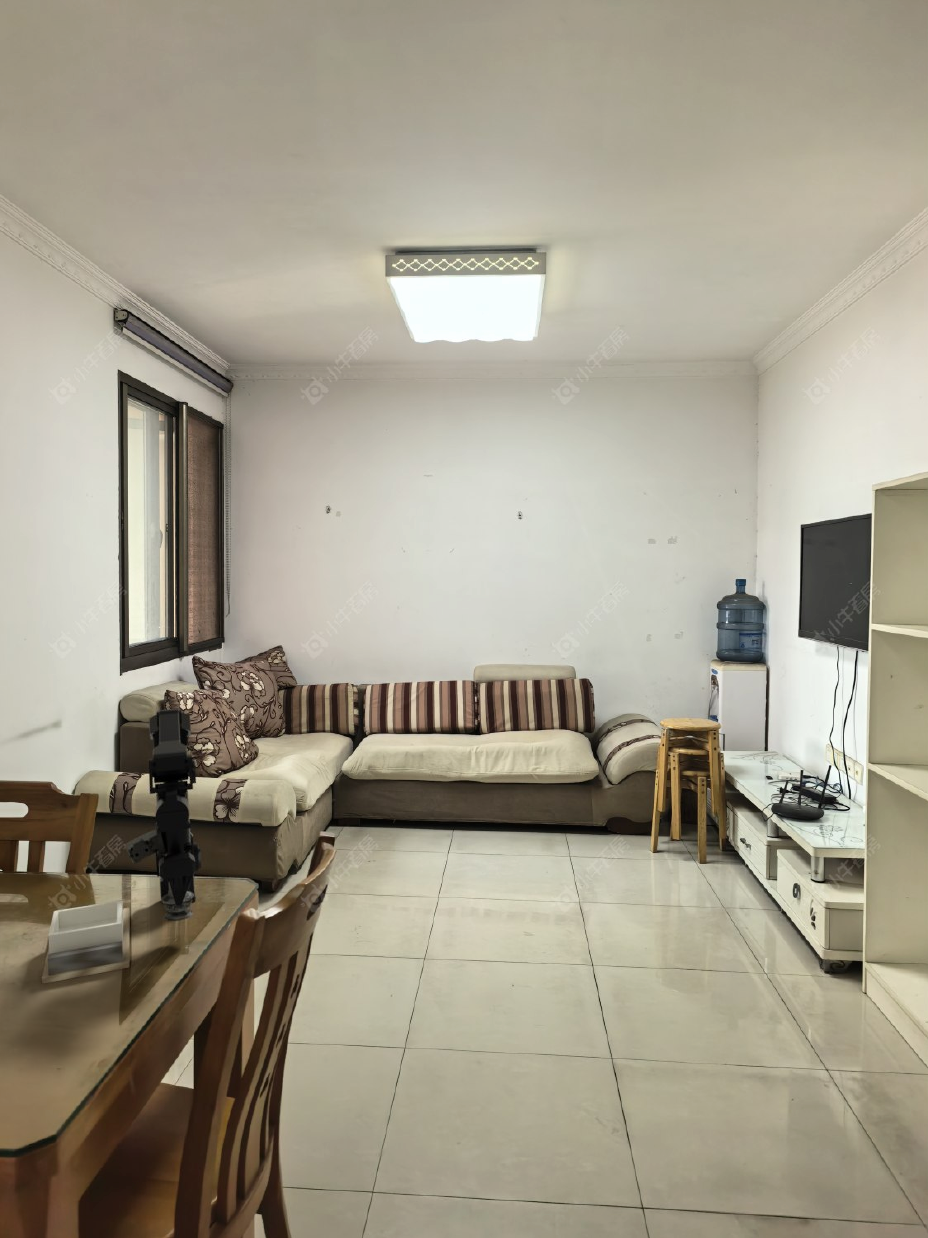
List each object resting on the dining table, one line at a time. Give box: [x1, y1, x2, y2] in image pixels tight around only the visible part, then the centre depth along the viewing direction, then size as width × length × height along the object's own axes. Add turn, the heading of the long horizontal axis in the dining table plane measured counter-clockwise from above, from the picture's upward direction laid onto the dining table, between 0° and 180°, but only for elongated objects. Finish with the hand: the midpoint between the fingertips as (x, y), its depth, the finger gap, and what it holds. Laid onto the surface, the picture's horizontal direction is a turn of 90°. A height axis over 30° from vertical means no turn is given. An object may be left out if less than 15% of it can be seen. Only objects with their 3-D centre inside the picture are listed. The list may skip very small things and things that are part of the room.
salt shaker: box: [160, 883, 194, 922], centre depth 160 cm, size 6×6×12 cm
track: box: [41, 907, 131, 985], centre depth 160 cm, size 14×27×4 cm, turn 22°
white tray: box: [47, 900, 123, 954], centre depth 156 cm, size 12×12×5 cm
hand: (177, 897), depth 160 cm, fingers closed on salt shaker, 8 cm apart
